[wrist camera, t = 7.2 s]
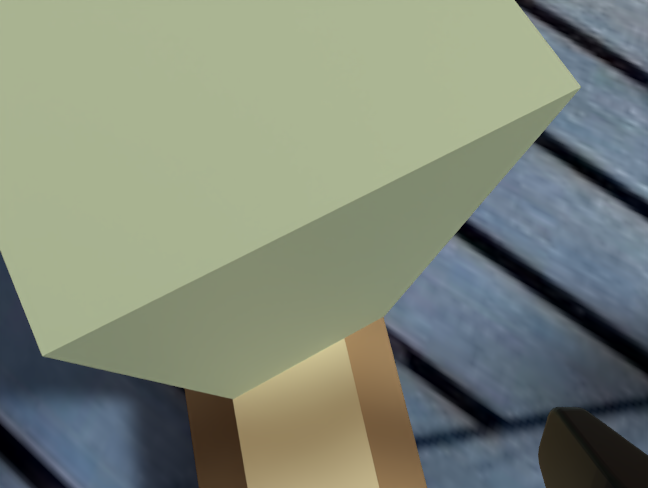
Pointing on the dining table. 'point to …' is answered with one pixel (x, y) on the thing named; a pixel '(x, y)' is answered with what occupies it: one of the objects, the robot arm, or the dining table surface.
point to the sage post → (248, 168)
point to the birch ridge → (312, 424)
